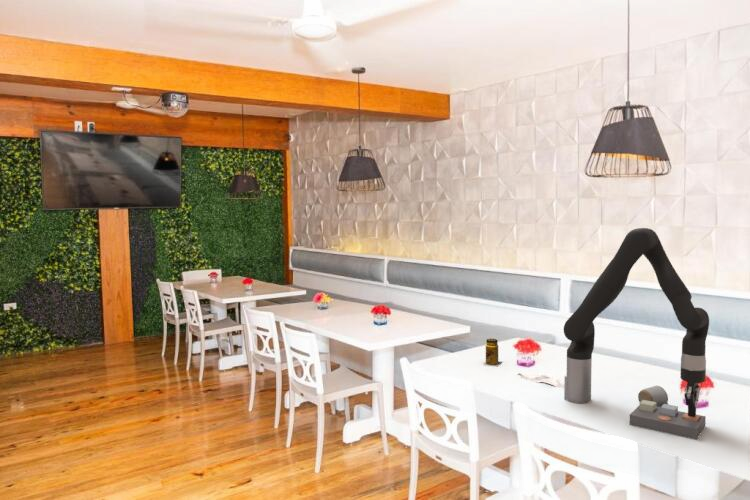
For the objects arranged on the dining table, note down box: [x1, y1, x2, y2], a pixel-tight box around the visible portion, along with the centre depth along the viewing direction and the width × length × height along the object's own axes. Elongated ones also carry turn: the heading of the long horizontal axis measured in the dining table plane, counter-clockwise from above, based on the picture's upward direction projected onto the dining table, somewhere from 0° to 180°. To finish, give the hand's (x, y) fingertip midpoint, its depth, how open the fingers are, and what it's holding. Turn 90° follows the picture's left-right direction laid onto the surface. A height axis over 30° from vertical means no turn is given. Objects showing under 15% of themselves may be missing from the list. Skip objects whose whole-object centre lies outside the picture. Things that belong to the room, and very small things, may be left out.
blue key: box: [660, 403, 679, 417], centre depth 205 cm, size 4×4×3 cm
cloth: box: [516, 372, 565, 388], centre depth 257 cm, size 26×14×2 cm, turn 28°
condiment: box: [483, 338, 503, 367], centre depth 284 cm, size 7×8×12 cm
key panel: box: [629, 405, 706, 440], centre depth 203 cm, size 21×14×4 cm, turn 51°
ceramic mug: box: [637, 385, 670, 408], centre depth 220 cm, size 11×8×8 cm
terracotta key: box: [683, 412, 701, 422], centre depth 201 cm, size 4×4×3 cm
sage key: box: [638, 400, 656, 413], centre depth 209 cm, size 4×4×3 cm
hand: (691, 416), depth 200 cm, fingers closed
